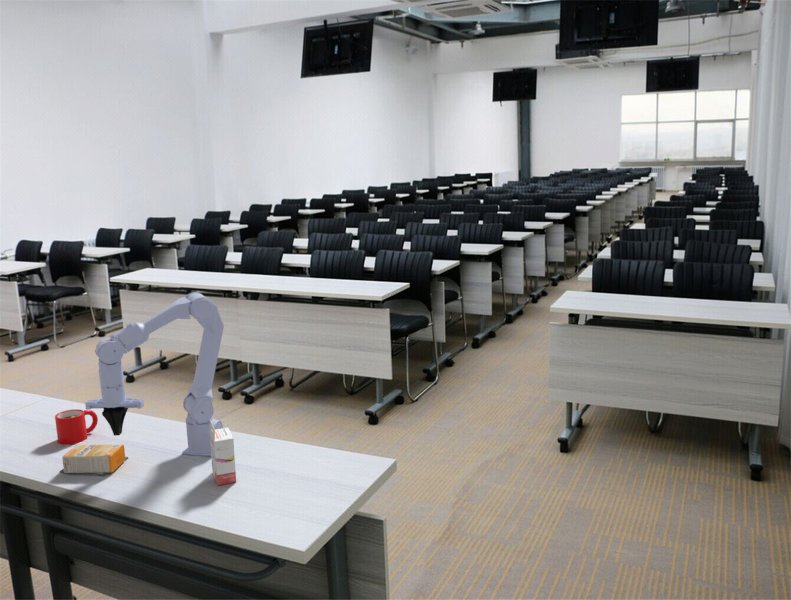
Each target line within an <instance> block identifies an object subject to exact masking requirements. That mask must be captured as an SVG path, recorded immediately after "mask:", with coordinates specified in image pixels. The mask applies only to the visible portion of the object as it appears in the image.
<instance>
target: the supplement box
mask: <svg viewBox="0 0 791 600" xmlns="http://www.w3.org/2000/svg"><path fill="white" fill-rule="evenodd" d="M125 457H126V452H125V444H77V445H75V446H74V447H73V448H71V449H70V450H69V451H68V452H66V453H65V454H64V455H63V456H62V464H63V465H62V467H63V469H64V473H63V474H71V473H99V472H109V473H114V472H115V471H116V470H117V469H118V468H119V467H120V466H121V465H122V464H123V463H124V462H125V461H126V460H125Z"/></svg>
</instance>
